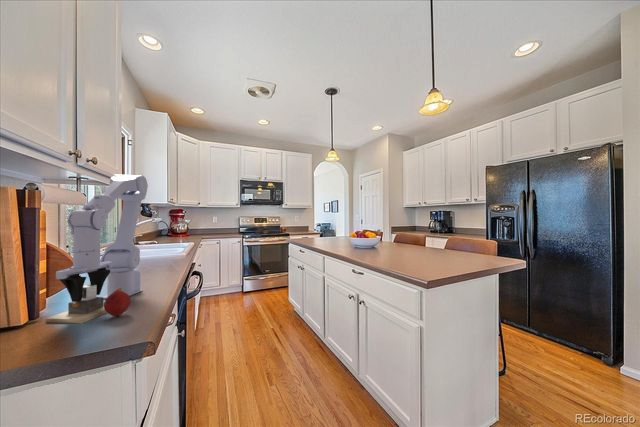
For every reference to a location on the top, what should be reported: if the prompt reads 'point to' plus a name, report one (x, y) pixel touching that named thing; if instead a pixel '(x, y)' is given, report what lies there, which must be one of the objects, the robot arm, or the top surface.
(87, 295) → the post
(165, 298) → the top surface
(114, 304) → the onion
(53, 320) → the stand
